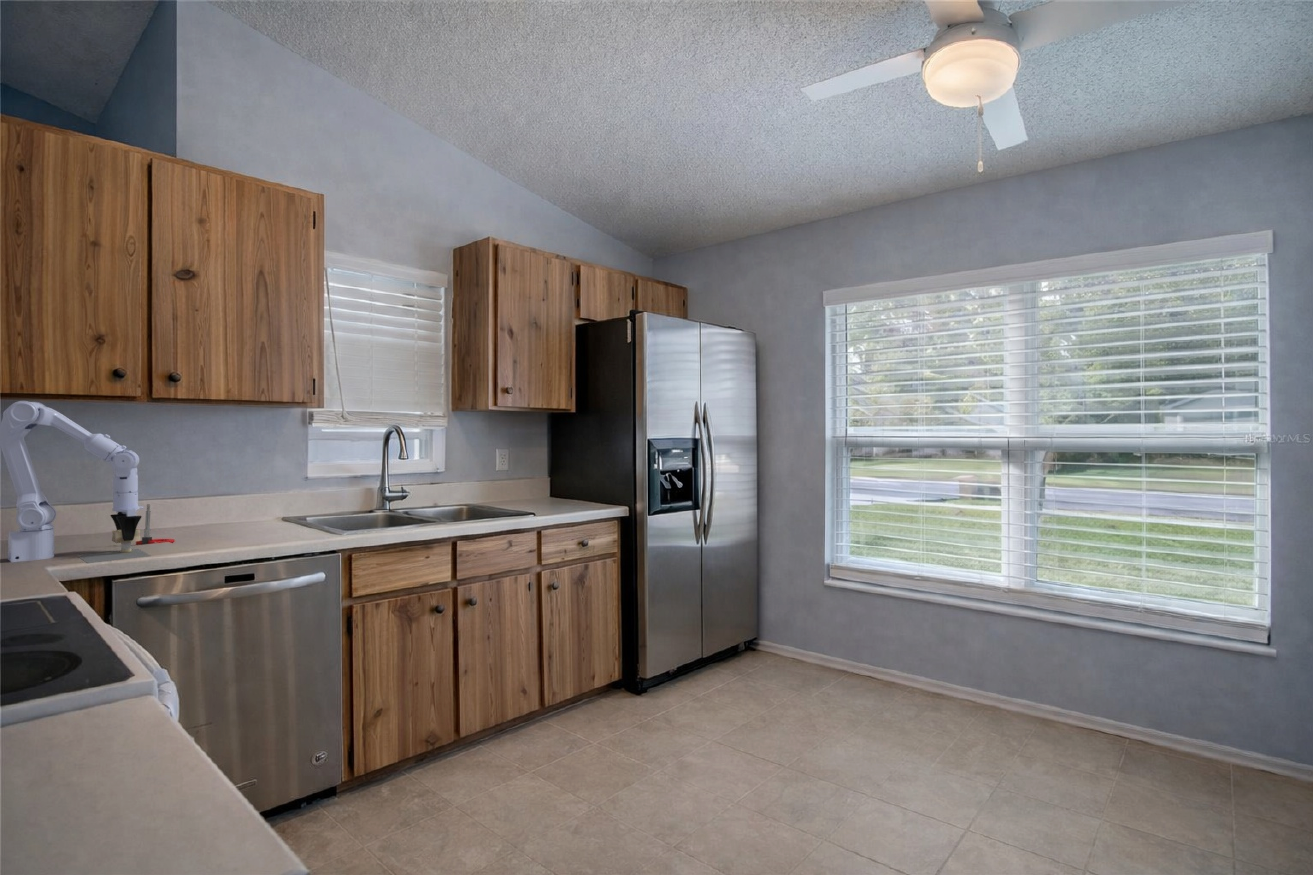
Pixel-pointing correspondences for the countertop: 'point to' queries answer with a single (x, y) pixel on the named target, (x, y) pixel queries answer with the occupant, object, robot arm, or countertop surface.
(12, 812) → the countertop surface
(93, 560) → the post mat
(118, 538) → the collar
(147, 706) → the countertop surface
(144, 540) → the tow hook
